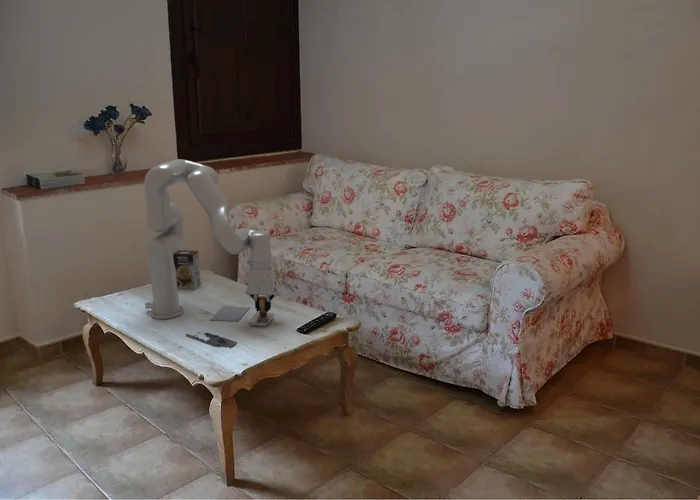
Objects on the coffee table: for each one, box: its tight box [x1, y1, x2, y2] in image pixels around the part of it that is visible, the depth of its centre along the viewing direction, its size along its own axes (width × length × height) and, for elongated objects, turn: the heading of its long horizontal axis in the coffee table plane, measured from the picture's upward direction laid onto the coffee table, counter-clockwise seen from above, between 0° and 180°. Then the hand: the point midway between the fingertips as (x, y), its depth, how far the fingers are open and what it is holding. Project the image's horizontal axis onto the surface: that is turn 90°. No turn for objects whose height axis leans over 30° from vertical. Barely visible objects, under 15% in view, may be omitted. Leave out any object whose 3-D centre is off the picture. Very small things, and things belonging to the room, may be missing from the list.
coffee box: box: [172, 249, 201, 291], centre depth 280 cm, size 9×6×16 cm
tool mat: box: [209, 305, 251, 323], centre depth 250 cm, size 11×14×1 cm
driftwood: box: [185, 331, 238, 349], centre depth 227 cm, size 21×7×2 cm, turn 53°
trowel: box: [247, 295, 275, 327], centre depth 241 cm, size 7×10×8 cm
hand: (263, 310), depth 244 cm, fingers closed on trowel, 3 cm apart
